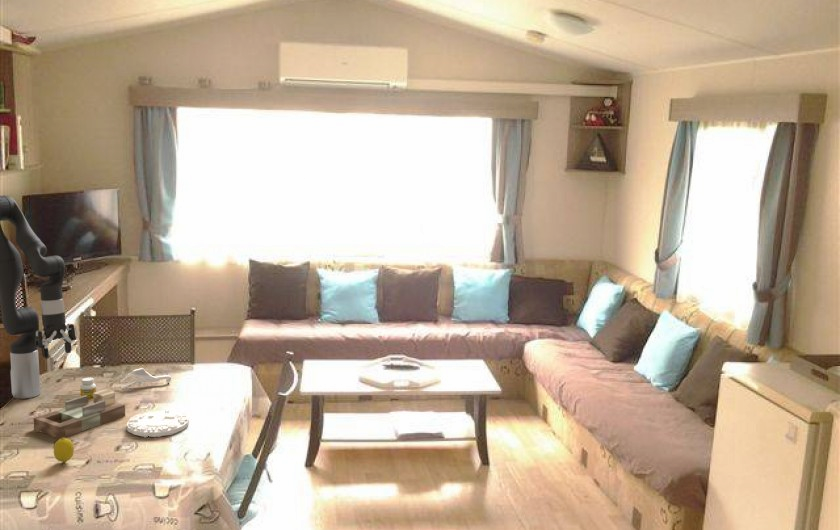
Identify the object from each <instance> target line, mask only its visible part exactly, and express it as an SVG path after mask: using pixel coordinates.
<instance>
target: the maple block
mask: <svg viewBox="0 0 840 530" xmlns="http://www.w3.org/2000/svg"><path fill="white" fill-rule="evenodd" d="M93 398H94V403H96V402H99V401H102V400H103V401H105V406H107V405H110V404H113V403H115V402H116V392H115V391H114V390H113V391H112V390H109V389H107V388H105V389H102V390H99V391H96V392H95V393H93Z"/></svg>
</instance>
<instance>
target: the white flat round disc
mask: <svg viewBox="0 0 840 530" xmlns="http://www.w3.org/2000/svg"><path fill="white" fill-rule="evenodd" d="M189 419H190V418H189V417H188V415H187V414H185V413H182V412H178V411H172V410H169V409H164V410H160V411H158V410H157V411H150V412H145V413H137V414H135V415H134V416H132V417H130V418H129V420H127V423H126V430H127V432H128V433H130V434H132V435H134V436H140V437H142V438H145V439H146V438H148V436H149V437H153V438H162V437H163V436H171V435H172V436H173V435H175V434H177V433H179V432H180V431H181V432H182V431H183V430H186V428H187V427H188V425H189V424H190V423H189V422H190V420H189Z"/></svg>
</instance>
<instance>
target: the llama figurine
mask: <svg viewBox="0 0 840 530" xmlns="http://www.w3.org/2000/svg"><path fill="white" fill-rule="evenodd" d="M132 376H134V377H135V376H136V379H135V380H134V381H132V382H129V383H127V384H124V385H122V386H121V389H122V390H125V388H128V387H131V386H133V385H136V384H142V383H153V382H159V381H161V380H166V381H165V382H166V383H167V384H168V383H170V384H171V381H172V377H171V376H170V375H169V374H166V375H165V374H164V375H157V376H155V375H154V376H153V375H152V374H150V373H149V372H147V371H146V369H144V367H141V368H136V369H133V370H132V371H131V372H129V373H127V374H126V376H124V378H122V379H121V380H119V381H118V384H119V385H121V384H122V383H123V382H125V381H126V380H127V379H128V378H129V377H132ZM122 387H123V388H122Z"/></svg>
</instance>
